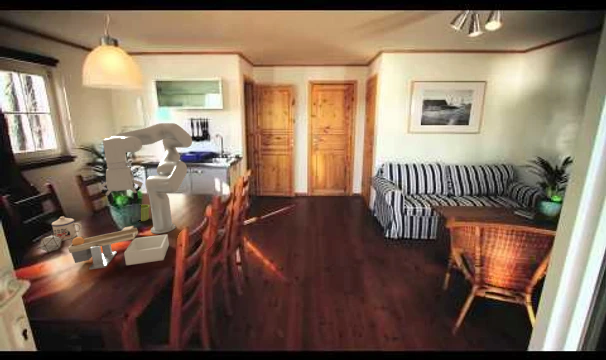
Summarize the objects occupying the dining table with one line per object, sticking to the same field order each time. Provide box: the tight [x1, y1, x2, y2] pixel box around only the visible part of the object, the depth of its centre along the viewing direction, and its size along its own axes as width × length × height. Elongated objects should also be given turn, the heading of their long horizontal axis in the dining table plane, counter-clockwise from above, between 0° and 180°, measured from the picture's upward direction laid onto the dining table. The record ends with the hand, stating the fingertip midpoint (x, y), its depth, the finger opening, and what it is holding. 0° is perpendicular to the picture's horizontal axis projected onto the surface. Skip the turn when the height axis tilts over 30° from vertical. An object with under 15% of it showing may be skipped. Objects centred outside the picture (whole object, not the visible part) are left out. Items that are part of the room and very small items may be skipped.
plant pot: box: [140, 204, 151, 222], centre depth 164 cm, size 9×9×9 cm
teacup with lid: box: [51, 216, 83, 242], centre depth 140 cm, size 12×9×12 cm
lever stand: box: [88, 244, 117, 271], centre depth 117 cm, size 13×6×10 cm, turn 18°
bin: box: [123, 233, 170, 266], centre depth 122 cm, size 15×15×6 cm
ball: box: [71, 236, 85, 246], centre depth 113 cm, size 4×4×4 cm
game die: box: [36, 233, 64, 255], centre depth 125 cm, size 9×8×10 cm
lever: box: [67, 225, 139, 264], centre depth 120 cm, size 16×24×8 cm, turn 108°
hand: (123, 201), depth 123 cm, fingers open, 9 cm apart
